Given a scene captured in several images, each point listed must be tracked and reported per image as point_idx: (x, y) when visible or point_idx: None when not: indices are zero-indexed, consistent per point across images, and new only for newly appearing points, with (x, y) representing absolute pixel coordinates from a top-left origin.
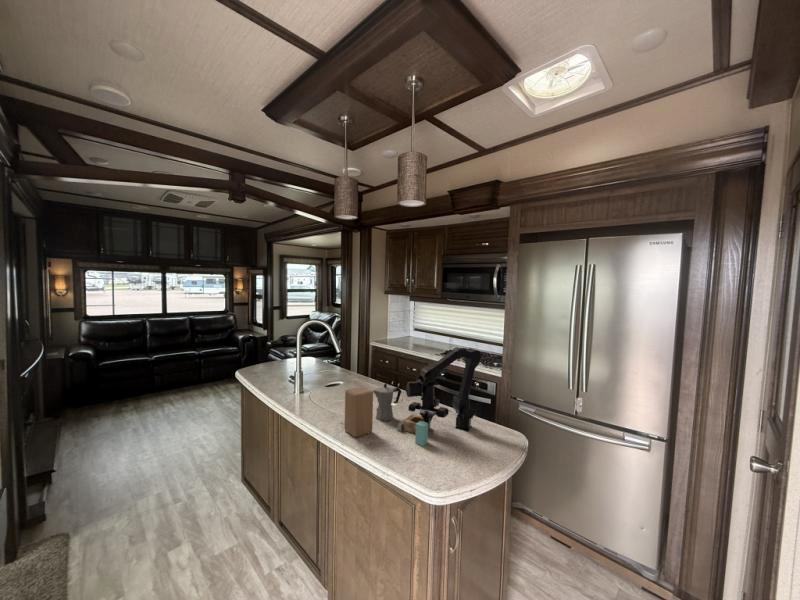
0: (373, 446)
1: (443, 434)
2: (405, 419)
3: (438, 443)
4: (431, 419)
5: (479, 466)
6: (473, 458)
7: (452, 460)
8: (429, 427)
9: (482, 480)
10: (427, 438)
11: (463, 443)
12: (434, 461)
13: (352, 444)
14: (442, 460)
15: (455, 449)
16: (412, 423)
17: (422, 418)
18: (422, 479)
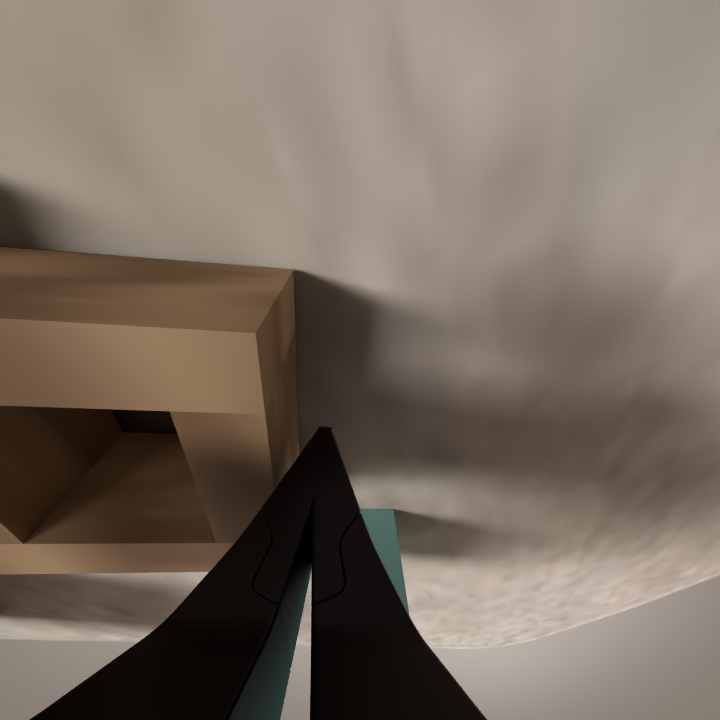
0: (157, 616)
1: (503, 340)
2: None
3: (473, 486)
4: (367, 538)
5: (702, 549)
6: (698, 518)
7: (566, 562)
8: (291, 302)
9: (673, 592)
10: (398, 547)
11: (698, 407)
12: (477, 589)
13: (68, 634)
14: (514, 576)
15: (600, 494)
16: (144, 572)
17: (89, 401)
18: (453, 639)
